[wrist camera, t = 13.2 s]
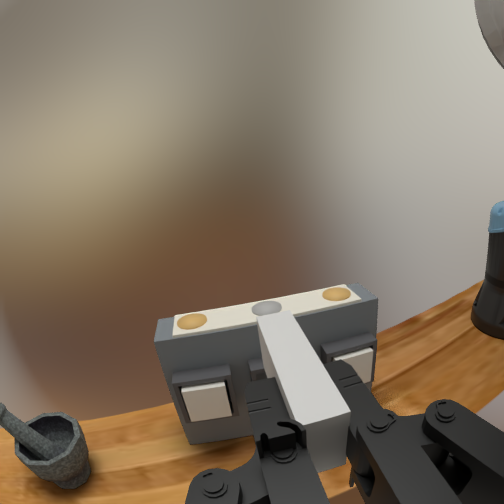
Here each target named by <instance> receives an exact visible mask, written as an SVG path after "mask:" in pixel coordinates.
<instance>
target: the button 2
mask: <svg viewBox="0 0 504 504" xmlns="http://www.w3.org/2000/svg"><path fill="white" fill-rule="evenodd" d="M340 359H341V360H343V361H345V362H346V363H348V364H350V365H351V366H352V367H353V368H354V370H355V371H356V372H357V374H358V376H359V377H360V378H361V379H362V381H363V383H367V382H370V381H371V371H372V360H373V350H372V349H371V348H370V347H369V346H368V347H364V348H361V349H357V350H354V351H350V352H347V353H343V354H339V355H336V356H332V357H331V362H333V361H336V360H340Z"/></svg>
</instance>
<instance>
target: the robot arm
mask: <svg viewBox="0 0 504 504" xmlns="http://www.w3.org/2000/svg"><path fill="white" fill-rule="evenodd" d="M475 9H476V15H477V19H478V23H479V26H480V29H481V32H482V35H483V38H484V40H485V41H486V44H487V46H488V48H489V50H490V51H491V52H492V54H493V56H494V57H495V59H496V60H497V62H498V63H499V64H500V65H501V66H502V67H503V69H504V0H475ZM488 231H489V243H488V254H487V263H486V272H485V279H484V282H483V284H482V286H481V288H480V290H479V292H478V295H477V297H476V299H475V301H474V303H473V306H472V312H471V319H472V322H473V323H474V325H475V326H476V327H477V328H478V329H480V330H481V331H483V332H484V333H486V334H489V335H491V336H494V337H497V338H502V339H504V201H501V202H499V203H496V204H495V205H494V206H493V207H492V209H491V214H490V225H489V228H488ZM256 320H257V326H258V333H259V340H260V346H261V353H262V359H263V366H264V369H265V372H266V375H267V379H262V380H257V381H253V382H248V383H247V386H246V389H245V391H244V395H245V400H246V404H247V409H248V414H249V418H250V423H251V427H252V431H253V435H254V440H255V444H256V450H255V453H254V455H253V457H252V458H251V459H250V460H249V461H248V462H247V463H246V464H244V465H242V466H241V467H238V468H236V469H234V470H232V471H228V470H225V469H219V468H215V469H208V470H205V471H203V472H200V473H199V474H198V475H197V476H195V477H194V478H193V480H192V482H191V484H190V486H189V490H188V494H187V498H186V501H185V504H330V503H329V500H328V498H327V495H326V493H325V490H324V488H323V486H322V483H321V481H320V478H319V476H318V473H319V472H322V471H326V470H329V469H332V468H335V467H338V466H342V465H345V464H346V457H348V459H349V461H350V463H351V465H352V467H351V473H350V480H349V484H350V487H353V485H354V482H355V484H356V486H357V488H358V490H359V492H360V494H361V496H362V498H363V500H364V502H365V504H504V432H502V431H501V430H499V429H498V428H496V427H495V426H493V425H491V424H490V423H488V422H487V421H485V420H484V419H482V418H481V417H479V416H477V415H476V414H474V413H473V412H471V411H470V410H468V409H467V408H465V407H464V406H462V405H460V404H459V403H457V402H455V401H452V400H446V399H442V400H437V401H435V402H433V403H431V404H430V405H429V406H428V407H427V409H426V412H425V413H424V414H418V415H411V416H398V415H396V414H395V413H394V412H393V411H390V410H387V409H383V408H382V407H381V406H380V404H379V403H378V402H377V400H376V399H375V397H374V396H373V395H372V393H371V392H370V390H369V389H368V388H367V386H366V385H365V384H364V383H363V381H362V379H361V378H360V377H359V376H358V374H357V372H356V371H355V370H354V368H353V367H352V366H351V365H350V364H348V363H346V362H345V361H343V360H341V359H340V360H336V361H333V362H329V363H325V364H322V362H321V361H320V359H319V357H318V356H317V354H316V352H315V351H314V349H313V347H312V346H311V344H310V343H309V341H308V339H307V338H306V336H305V334H304V333H303V331H302V329H301V328H300V326H299V324H298V323H297V321H296V319H295V318H294V316H293V314H292V313H291V311H290V310H287V311H283V312H278V313H273V314H268V315H263V316H258V317H256Z"/></svg>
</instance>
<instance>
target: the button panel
mask: <svg viewBox="0 0 504 504" xmlns="http://www.w3.org/2000/svg"><path fill="white" fill-rule="evenodd" d="M287 310H290V311H291V313H292V314H293V316H294V318H295V319H296V321H297V323H298V324H299V326H300V328H301V329H302V331H303V333H304V334H305V336H306V338H307V339H308V341H309V343H310V344H311V346H312V347H313V349H314V351H315V352H316V354H317V356H318V357H319V359H320V361H321V362H322V364H325V363H329V362H331V357H332V356H336V355H339V354H343V353H347V352H350V351H354V350H357V349H361V348H364V347H368V346H369V347H370V348H371V349H372V350H373V360H372V371H371V381H370V382H367V383H364V384H365V385H366V386H367V388H368V389H369V390H370V392H371V387H372V382H373V381H374V372H375V362H376V350H377V339H376V330H377V311H378V298H377V297H376V296H375V295H373V294H372V293H371V292H369V291H368V290H367V289H366V288H364V287H363V286H362V285H360V284H359V283H355V284H350V285H344V284H343V285H338V286H334V287H329V288H324V289H320V290H315V291H310V292H305V293H299V294H294V295H289V296H284V297H279V298H274V299H268V300H263V301H257V302H252V303H246V304H241V305H235V306H229V307H223V308H218V309H212V310H205V311H199V312H193V313H187V314H180V315H175V317H171V318H165V319H158V324H157V329H156V334H155V339H154V343H155V347H156V351H157V354H158V357H159V360H160V363H161V366H162V370H163V373H164V376H165V379H166V382H167V385H168V387H169V391H170V393H171V396H172V399H173V402H174V405H175V408H176V410H177V413H178V416H179V418H180V421H181V424H182V426H183V429H184V431H185V434H186V437H187V439H188V442H189V444H190V445H191V444H199V443H207V442H214V441H221V440H227V439H233V438H239V437H245V436H250V435H253V431H252V427H251V423H250V418H249V414H248V409H247V404H246V400H245V395H244V391H245V389H246V386H247V383H248V382H253V381H257V380H262V379H267V375H266V372H265V369H264V366H263V359H262V353H261V346H260V340H259V333H258V326H257V320H256V317H258V316H263V315H268V314H273V313H278V312H283V311H287ZM220 380H225V384H226V389H227V393H228V398H229V402H230V408H231V414H232V416H228V417H221V418H215V419H208V420H201V421H193V422H191V419H190V416H189V413H188V410H187V407H186V404H185V401H184V398H183V395H182V386H186V385H193V384H200V383H207V382H213V381H220Z"/></svg>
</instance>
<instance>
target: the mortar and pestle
mask: <svg viewBox="0 0 504 504" xmlns="http://www.w3.org/2000/svg"><path fill="white" fill-rule="evenodd" d="M0 425H1V426H2V427H3V428H4V429H5V430H6V431H8V432H9V433H10V434H11V435H12V436H13V437H14V438H15V454H16V455H17V457H18V458H19V459H20V461H21V462H23V463H24V464H25V465H26V466H27V467H28V468H29V469H30V470H31V471H33V472H34V473H35V474H36V475H37V476H39V477H40V478H41V479H44V480H47V481H53V482H54V483H55V484H56V485H58V486H59V487H60V488H62V489H75V488H77V487H78V486H80V485H82V484H83V483H85V482H86V481H87V479H88V477H89V475H90V473H91V469H90V466H89V462H88V461H87V460H88V448H87V444H86V441H85V437H84V434H83V432H82V429H81V427H80V425H79V423H78V421H77V420H76V419H74V418H72V417H70V416H68V415H67V414H65V413H63V412H57V413H43V414H41V415H39V416H37V417H36V418H33V419H32V420H30V421H28V422H26V423H24V422H22V421H21V420H19V419H18V418H17V417H15V416H14V415H13V414H12V413H10V412H9V411H8V410H7V409H6V407H5V405H4V404H2V403H0Z"/></svg>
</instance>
